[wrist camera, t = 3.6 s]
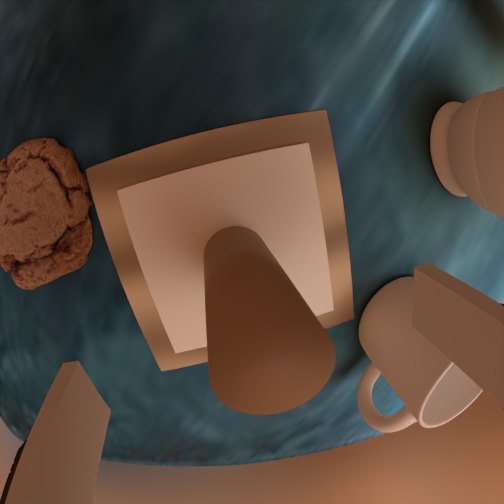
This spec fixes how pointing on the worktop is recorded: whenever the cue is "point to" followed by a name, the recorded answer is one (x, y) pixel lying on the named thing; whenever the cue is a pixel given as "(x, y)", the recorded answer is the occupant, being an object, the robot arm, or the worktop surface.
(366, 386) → the mug
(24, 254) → the cookie
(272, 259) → the lid
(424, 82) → the worktop surface
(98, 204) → the cloth
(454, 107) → the jar
